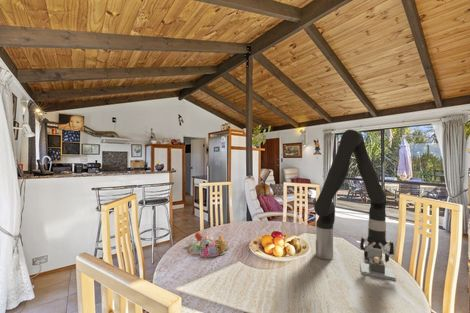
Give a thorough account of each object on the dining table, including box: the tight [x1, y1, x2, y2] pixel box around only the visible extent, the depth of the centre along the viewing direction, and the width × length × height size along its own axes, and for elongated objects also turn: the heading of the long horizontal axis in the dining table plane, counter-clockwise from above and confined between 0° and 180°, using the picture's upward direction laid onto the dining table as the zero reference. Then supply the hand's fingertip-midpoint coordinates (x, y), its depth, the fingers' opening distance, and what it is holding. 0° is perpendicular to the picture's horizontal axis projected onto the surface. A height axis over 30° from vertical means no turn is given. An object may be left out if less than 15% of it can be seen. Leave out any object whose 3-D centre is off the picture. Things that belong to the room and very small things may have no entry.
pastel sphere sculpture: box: [188, 231, 229, 258], centre depth 142 cm, size 25×24×9 cm
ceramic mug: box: [364, 243, 383, 261], centre depth 130 cm, size 11×8×8 cm
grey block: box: [368, 258, 386, 274], centre depth 114 cm, size 6×6×4 cm
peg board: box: [359, 257, 397, 281], centre depth 114 cm, size 14×10×7 cm
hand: (376, 259), depth 114 cm, fingers open, 8 cm apart
